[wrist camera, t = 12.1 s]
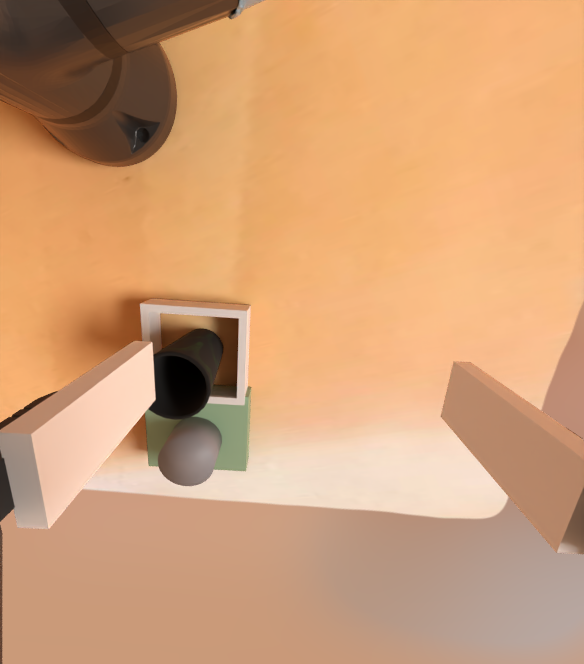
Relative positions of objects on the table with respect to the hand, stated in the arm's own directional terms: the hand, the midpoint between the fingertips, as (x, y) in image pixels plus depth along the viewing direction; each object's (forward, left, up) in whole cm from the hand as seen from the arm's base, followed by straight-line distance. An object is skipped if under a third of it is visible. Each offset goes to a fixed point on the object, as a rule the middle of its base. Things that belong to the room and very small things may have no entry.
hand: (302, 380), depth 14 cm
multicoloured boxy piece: (+15, -12, -29) cm, 35 cm away
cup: (+10, -12, -29) cm, 33 cm away
